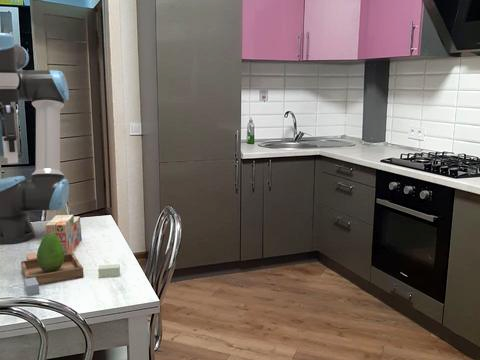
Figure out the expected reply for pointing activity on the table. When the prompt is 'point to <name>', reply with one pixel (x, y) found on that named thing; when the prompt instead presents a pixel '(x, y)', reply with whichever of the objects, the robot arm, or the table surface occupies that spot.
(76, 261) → the tray
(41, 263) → the fruit
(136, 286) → the table surface
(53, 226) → the stack of blocks
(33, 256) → the terracotta brick
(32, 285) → the slate brick
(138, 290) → the table surface
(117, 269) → the sage brick
